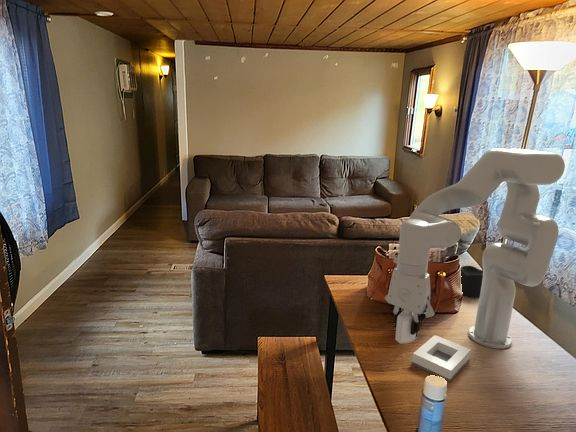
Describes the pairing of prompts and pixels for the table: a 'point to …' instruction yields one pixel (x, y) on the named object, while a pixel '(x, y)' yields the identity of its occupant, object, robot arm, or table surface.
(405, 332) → the eye dropper bottle
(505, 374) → the table surface
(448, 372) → the bottle holder
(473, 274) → the pen holder
